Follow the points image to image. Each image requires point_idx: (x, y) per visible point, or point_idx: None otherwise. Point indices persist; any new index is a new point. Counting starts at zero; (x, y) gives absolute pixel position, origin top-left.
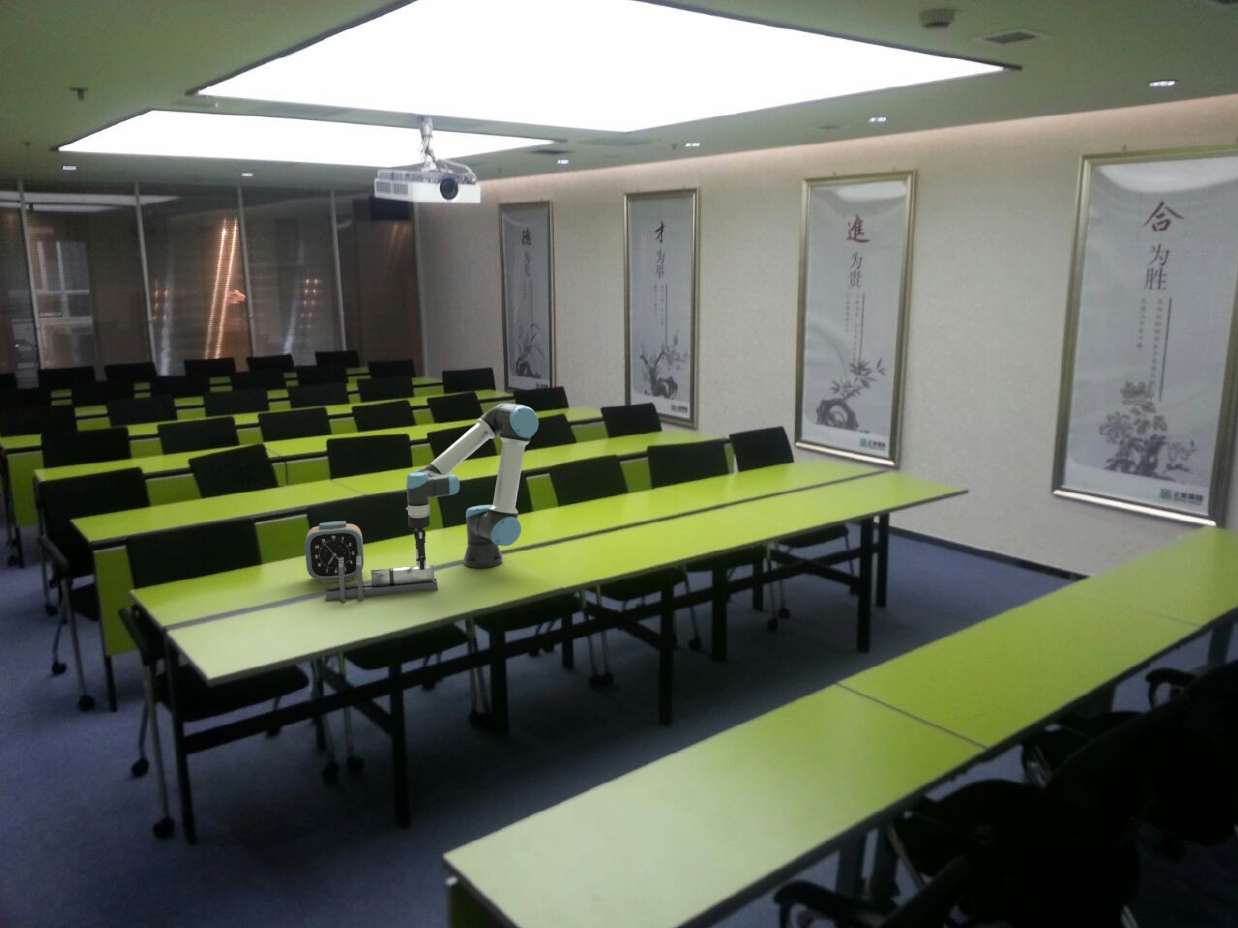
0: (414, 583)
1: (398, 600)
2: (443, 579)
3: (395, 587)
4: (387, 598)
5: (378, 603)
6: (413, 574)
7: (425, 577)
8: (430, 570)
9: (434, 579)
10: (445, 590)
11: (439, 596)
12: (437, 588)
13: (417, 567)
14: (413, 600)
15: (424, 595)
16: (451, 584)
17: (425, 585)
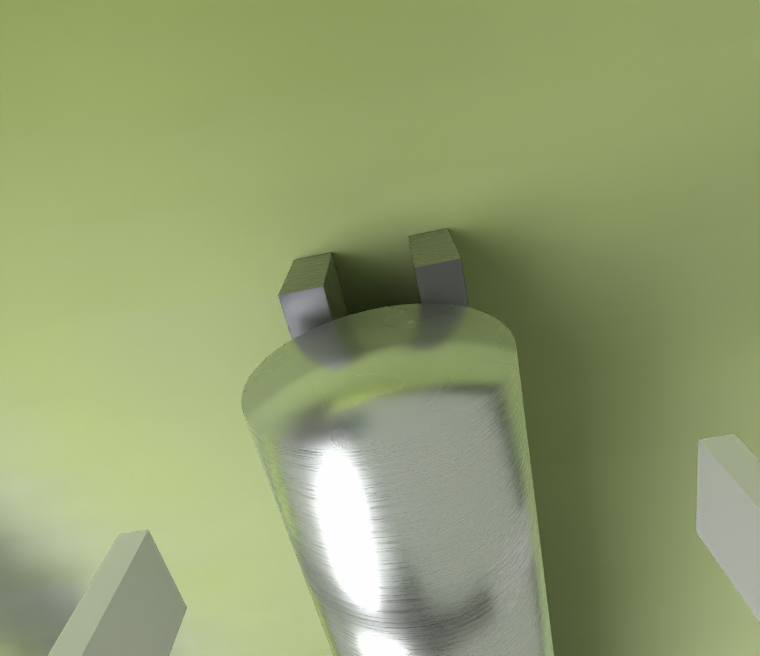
0: None
1: (695, 532)
2: (48, 211)
3: None
4: (611, 609)
5: (715, 642)
6: (546, 607)
7: (738, 447)
8: (508, 432)
9: (329, 310)
10: (493, 124)
11: (712, 171)
12: (448, 234)
13: (472, 647)
14: (746, 419)
15: (620, 342)
16: (248, 71)
17: None
